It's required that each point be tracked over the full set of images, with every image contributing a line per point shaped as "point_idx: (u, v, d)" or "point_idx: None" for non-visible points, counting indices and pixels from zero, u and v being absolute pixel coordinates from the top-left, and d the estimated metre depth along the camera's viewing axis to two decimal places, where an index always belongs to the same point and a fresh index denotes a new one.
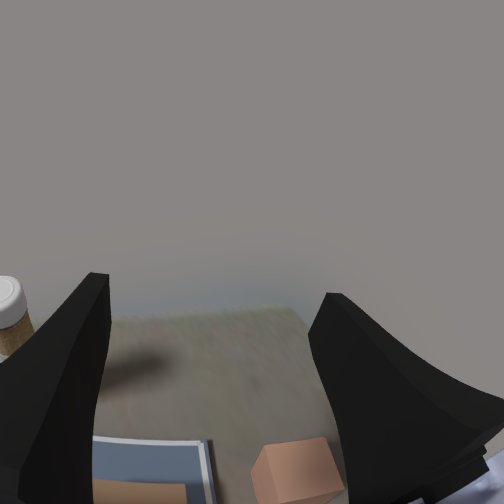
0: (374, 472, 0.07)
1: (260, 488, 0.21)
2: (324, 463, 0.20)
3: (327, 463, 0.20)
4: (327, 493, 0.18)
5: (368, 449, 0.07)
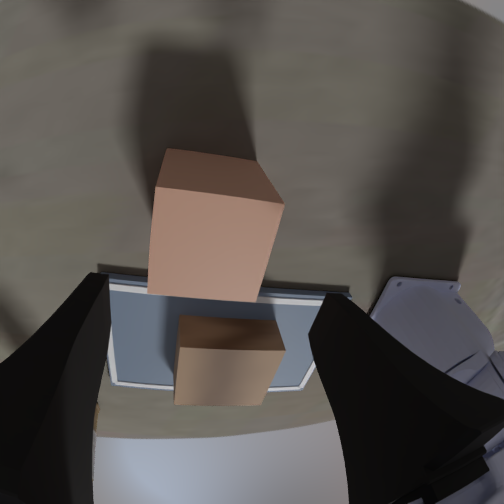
0: (374, 472, 0.07)
1: None
2: (216, 215, 0.12)
3: (219, 209, 0.12)
4: None
5: (368, 449, 0.07)
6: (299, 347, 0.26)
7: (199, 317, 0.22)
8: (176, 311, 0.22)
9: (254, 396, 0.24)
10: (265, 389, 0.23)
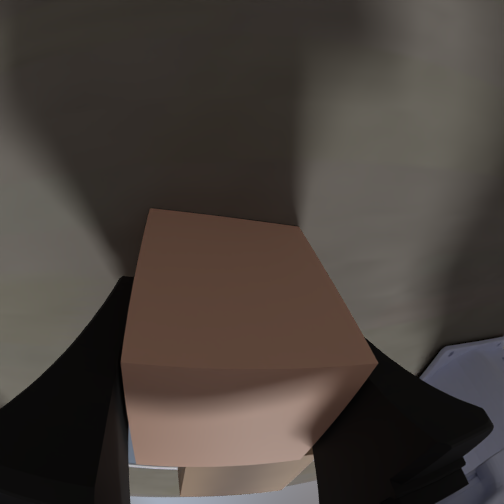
0: (343, 480, 0.07)
1: None
2: (251, 395, 0.06)
3: (256, 387, 0.06)
4: None
5: (337, 456, 0.07)
6: None
7: None
8: None
9: (275, 486, 0.17)
10: (289, 480, 0.17)
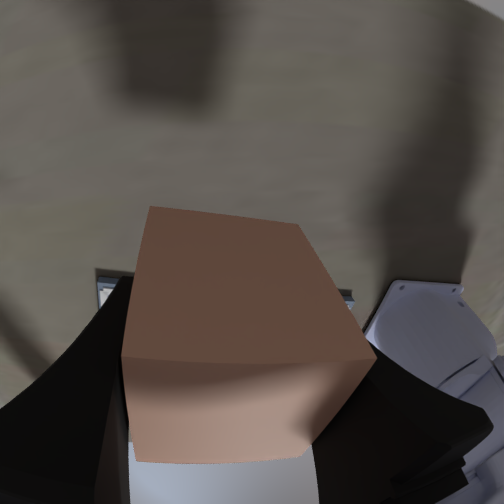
0: (343, 480, 0.07)
1: None
2: (250, 390, 0.06)
3: (256, 382, 0.06)
4: None
5: (337, 456, 0.07)
6: None
7: None
8: None
9: None
10: None
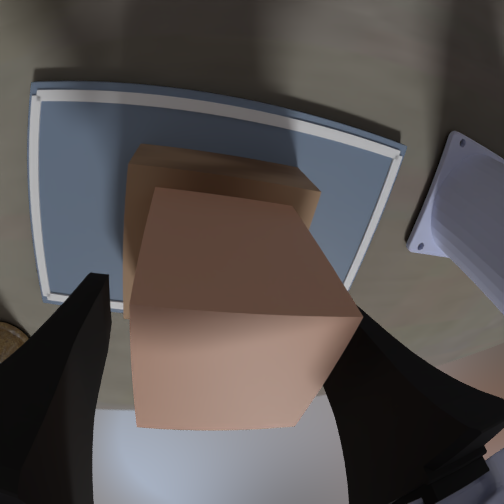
0: (374, 472, 0.07)
1: None
2: (246, 343, 0.07)
3: (251, 335, 0.07)
4: None
5: (368, 449, 0.07)
6: (333, 232, 0.17)
7: (173, 149, 0.13)
8: (136, 136, 0.12)
9: None
10: None
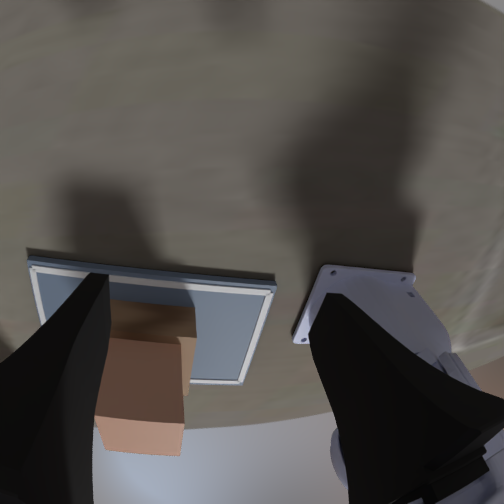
0: (375, 471, 0.07)
1: None
2: (138, 427, 0.15)
3: (138, 425, 0.15)
4: None
5: (368, 449, 0.07)
6: (227, 338, 0.25)
7: (118, 301, 0.21)
8: None
9: None
10: (187, 379, 0.23)
